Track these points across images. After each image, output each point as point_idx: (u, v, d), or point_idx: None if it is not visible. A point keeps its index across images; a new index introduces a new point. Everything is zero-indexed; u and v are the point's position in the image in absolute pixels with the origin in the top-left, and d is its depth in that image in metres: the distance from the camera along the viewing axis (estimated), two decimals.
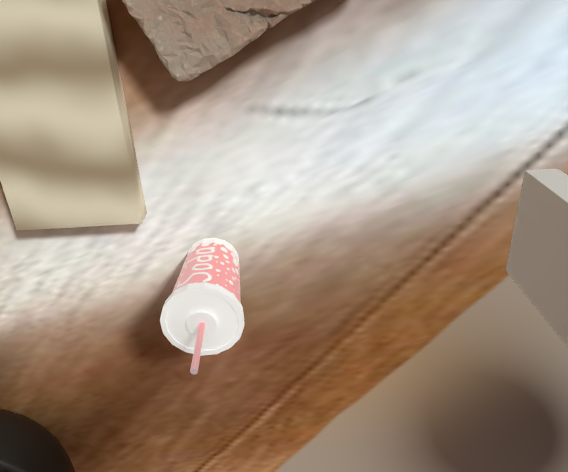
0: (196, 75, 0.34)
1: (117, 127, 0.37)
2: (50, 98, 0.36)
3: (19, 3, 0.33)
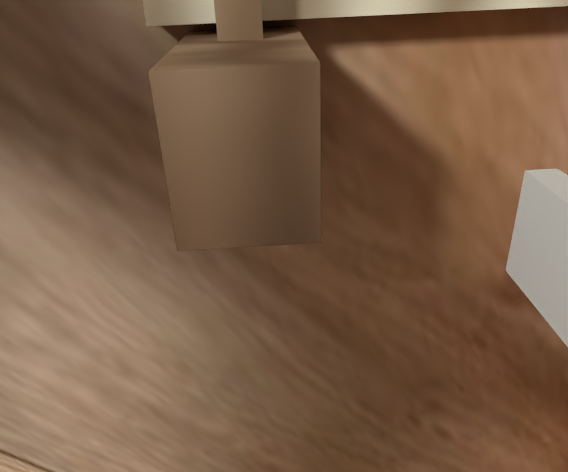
0: None
1: None
2: None
3: None
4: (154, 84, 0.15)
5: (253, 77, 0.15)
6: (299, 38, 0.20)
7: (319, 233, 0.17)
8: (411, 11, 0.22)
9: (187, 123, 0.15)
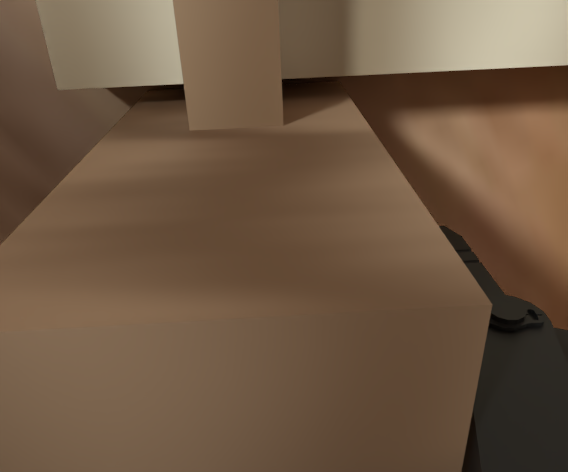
0: None
1: None
2: None
3: None
4: None
5: (266, 345, 0.04)
6: (359, 126, 0.09)
7: None
8: (565, 61, 0.11)
9: (65, 454, 0.05)
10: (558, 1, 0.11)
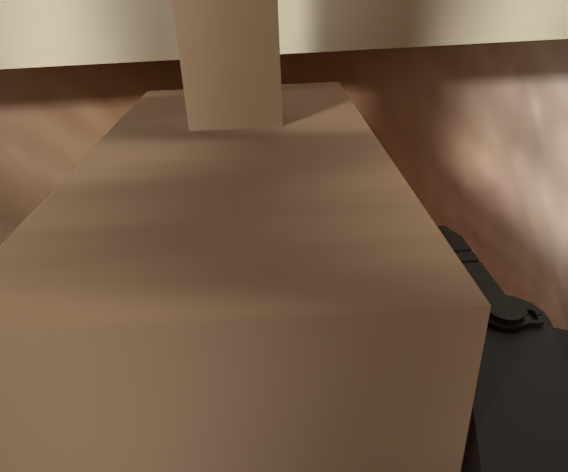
0: None
1: None
2: None
3: None
4: None
5: (264, 346, 0.04)
6: (359, 127, 0.09)
7: None
8: (99, 60, 0.13)
9: (65, 455, 0.05)
10: (71, 11, 0.13)
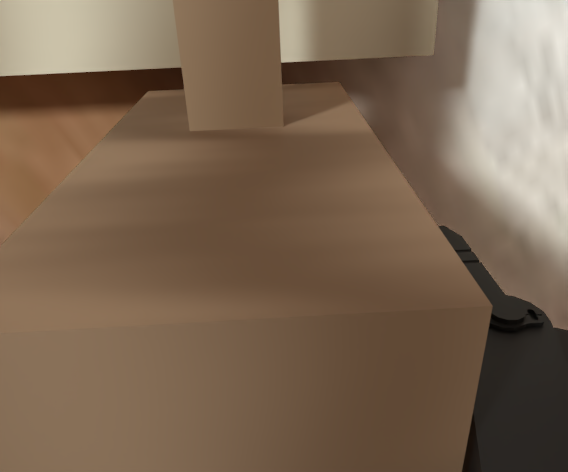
0: None
1: None
2: None
3: None
4: None
5: (266, 347, 0.04)
6: (359, 127, 0.09)
7: None
8: None
9: (66, 455, 0.05)
10: None
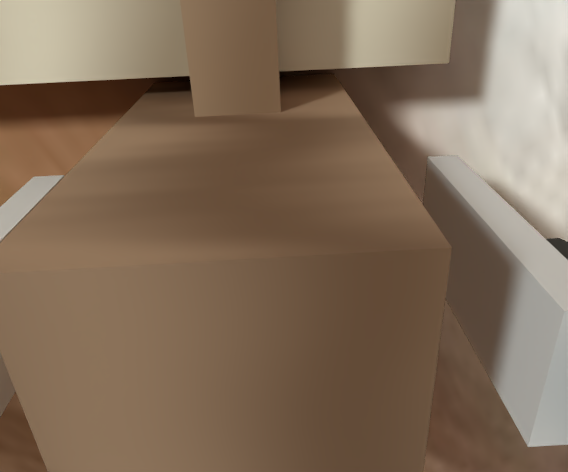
0: None
1: None
2: None
3: None
4: None
5: (263, 283, 0.05)
6: (350, 112, 0.10)
7: None
8: None
9: (93, 382, 0.06)
10: None
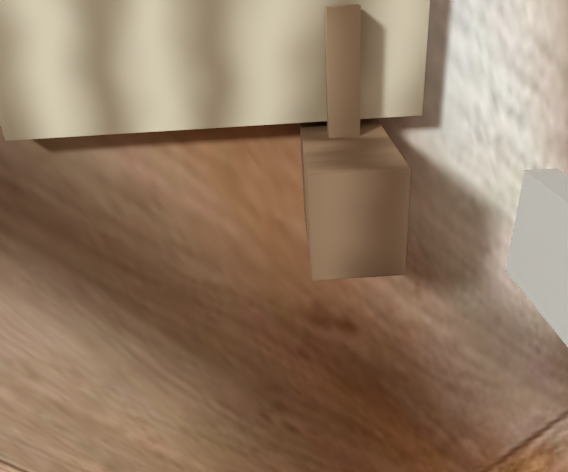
0: None
1: None
2: (249, 32, 0.29)
3: (143, 47, 0.29)
4: (310, 182, 0.25)
5: (369, 177, 0.24)
6: (385, 135, 0.29)
7: (404, 269, 0.27)
8: (184, 128, 0.31)
9: (327, 203, 0.25)
10: (174, 109, 0.31)
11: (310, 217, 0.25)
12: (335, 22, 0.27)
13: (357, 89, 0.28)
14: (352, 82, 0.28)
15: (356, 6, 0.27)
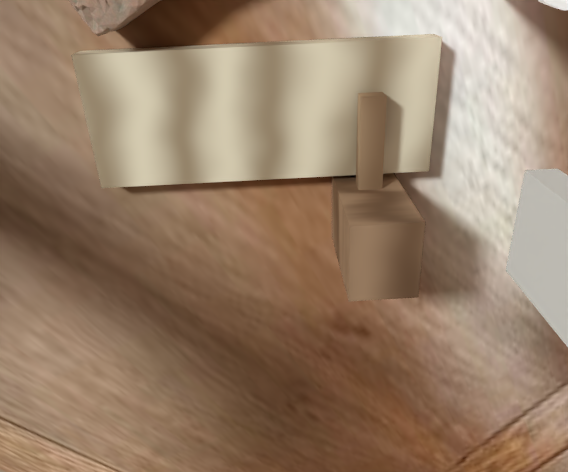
0: None
1: (330, 47, 0.36)
2: (299, 110, 0.38)
3: (216, 119, 0.38)
4: (352, 231, 0.33)
5: (395, 228, 0.33)
6: (401, 189, 0.38)
7: (417, 293, 0.36)
8: (244, 179, 0.40)
9: (363, 246, 0.34)
10: (237, 165, 0.39)
11: (350, 256, 0.34)
12: (367, 107, 0.36)
13: (381, 155, 0.37)
14: (378, 150, 0.37)
15: (383, 96, 0.35)
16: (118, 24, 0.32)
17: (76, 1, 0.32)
